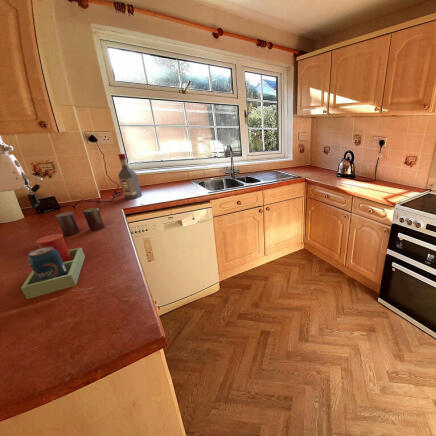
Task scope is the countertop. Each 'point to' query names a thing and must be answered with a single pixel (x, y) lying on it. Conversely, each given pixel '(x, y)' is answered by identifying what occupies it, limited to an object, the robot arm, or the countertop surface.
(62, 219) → the grey tin left
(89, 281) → the countertop surface
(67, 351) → the countertop surface
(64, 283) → the can rack
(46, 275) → the soda can
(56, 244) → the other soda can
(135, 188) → the liquor
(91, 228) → the grey tin right
